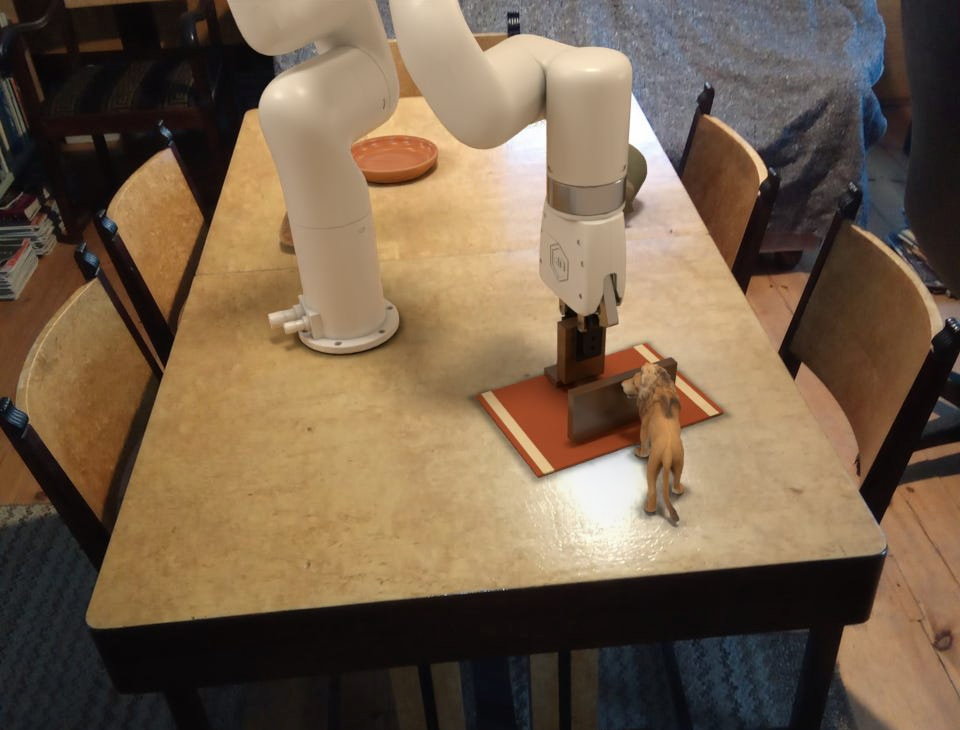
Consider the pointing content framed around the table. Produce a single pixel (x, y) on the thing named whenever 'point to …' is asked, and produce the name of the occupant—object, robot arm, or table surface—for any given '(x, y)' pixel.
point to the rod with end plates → (594, 387)
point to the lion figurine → (658, 431)
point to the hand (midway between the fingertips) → (581, 350)
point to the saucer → (394, 157)
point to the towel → (544, 415)
